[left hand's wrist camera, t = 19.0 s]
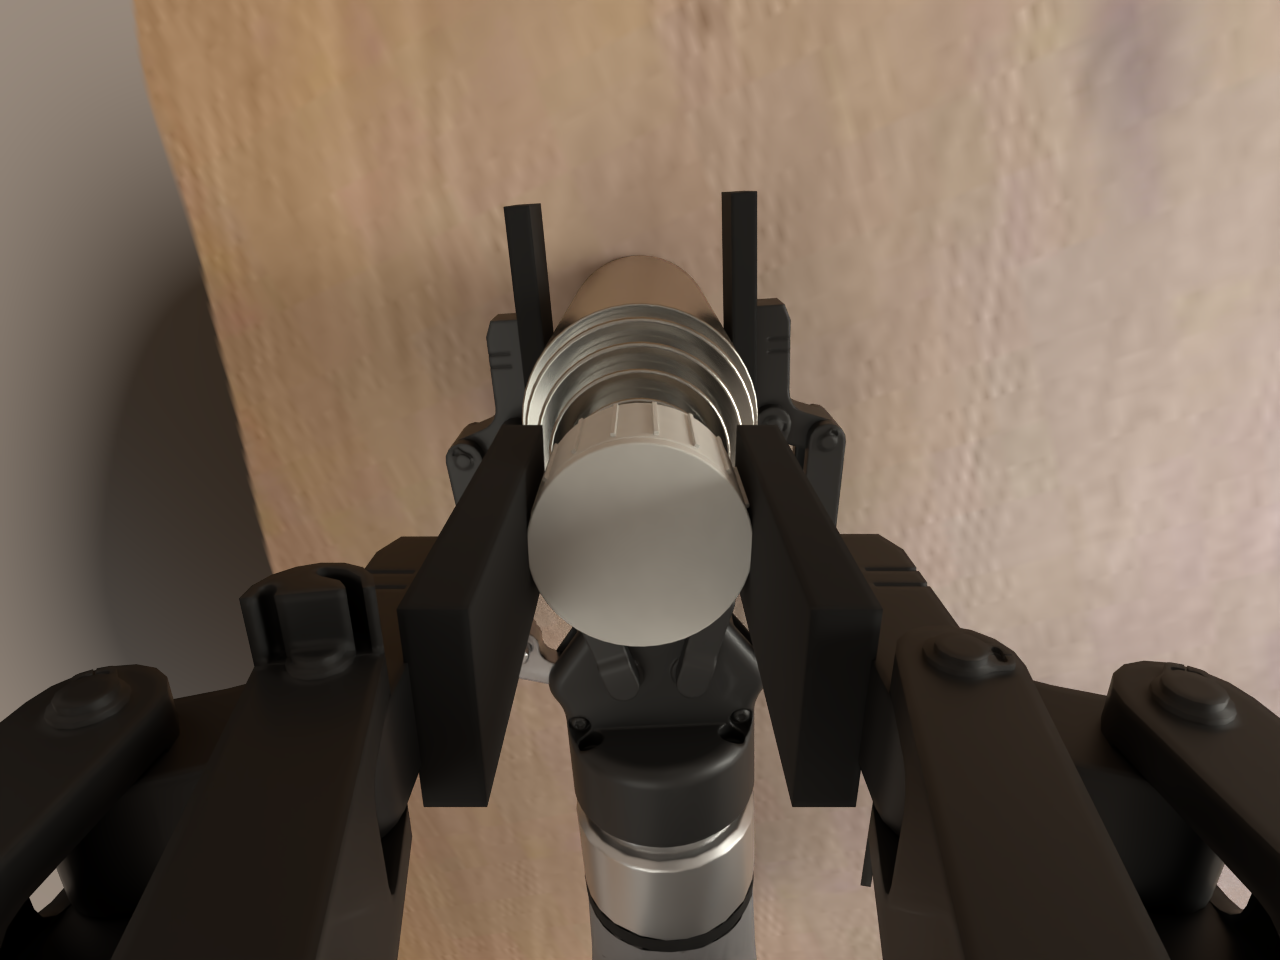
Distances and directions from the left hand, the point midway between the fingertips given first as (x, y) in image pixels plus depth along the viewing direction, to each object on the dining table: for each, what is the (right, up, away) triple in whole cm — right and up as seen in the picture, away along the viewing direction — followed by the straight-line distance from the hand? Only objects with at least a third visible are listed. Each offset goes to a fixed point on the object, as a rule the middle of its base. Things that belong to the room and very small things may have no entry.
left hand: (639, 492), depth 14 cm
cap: (0, -1, -2) cm, 2 cm away
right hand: (0, +9, +9) cm, 12 cm away
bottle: (0, +7, +17) cm, 18 cm away
